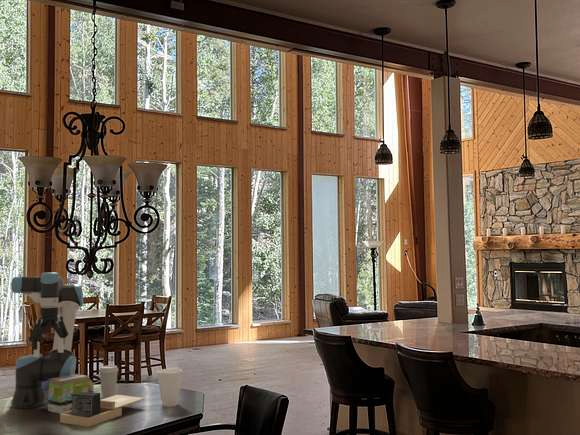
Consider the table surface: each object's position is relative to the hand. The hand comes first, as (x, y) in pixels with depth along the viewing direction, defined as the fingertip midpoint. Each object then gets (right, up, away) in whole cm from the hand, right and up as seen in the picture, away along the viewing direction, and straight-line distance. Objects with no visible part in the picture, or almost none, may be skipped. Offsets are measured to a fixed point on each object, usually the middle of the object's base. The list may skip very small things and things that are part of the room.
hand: (48, 354), depth 276 cm
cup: (+51, -27, +15) cm, 60 cm away
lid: (+28, -23, +6) cm, 37 cm away
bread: (-3, -30, +45) cm, 54 cm away
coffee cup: (+17, -29, +32) cm, 46 cm away
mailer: (+22, -26, -8) cm, 35 cm away
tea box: (+6, -28, +9) cm, 30 cm away
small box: (+20, -25, -10) cm, 34 cm away
